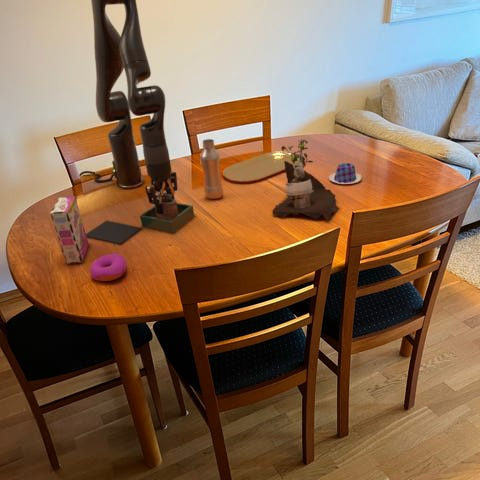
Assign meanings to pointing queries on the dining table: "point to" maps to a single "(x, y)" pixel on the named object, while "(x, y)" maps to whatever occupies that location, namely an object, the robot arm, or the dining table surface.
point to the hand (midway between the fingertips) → (166, 209)
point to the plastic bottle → (211, 170)
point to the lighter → (168, 207)
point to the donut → (108, 267)
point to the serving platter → (258, 167)
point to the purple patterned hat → (345, 174)
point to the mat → (113, 232)
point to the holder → (172, 226)
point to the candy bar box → (70, 229)
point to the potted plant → (304, 190)
